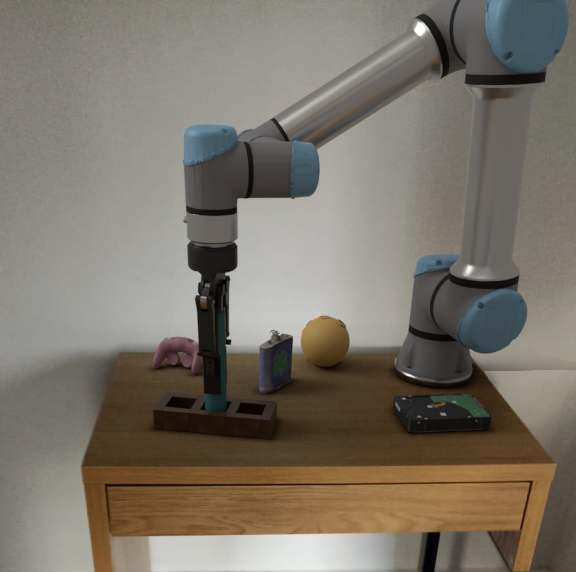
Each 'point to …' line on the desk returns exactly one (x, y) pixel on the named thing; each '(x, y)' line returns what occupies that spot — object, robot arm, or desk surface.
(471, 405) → the disk drive
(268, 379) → the flask
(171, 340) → the video game controller
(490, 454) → the desk surface
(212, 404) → the dowel
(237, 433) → the pen block
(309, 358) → the stress ball
